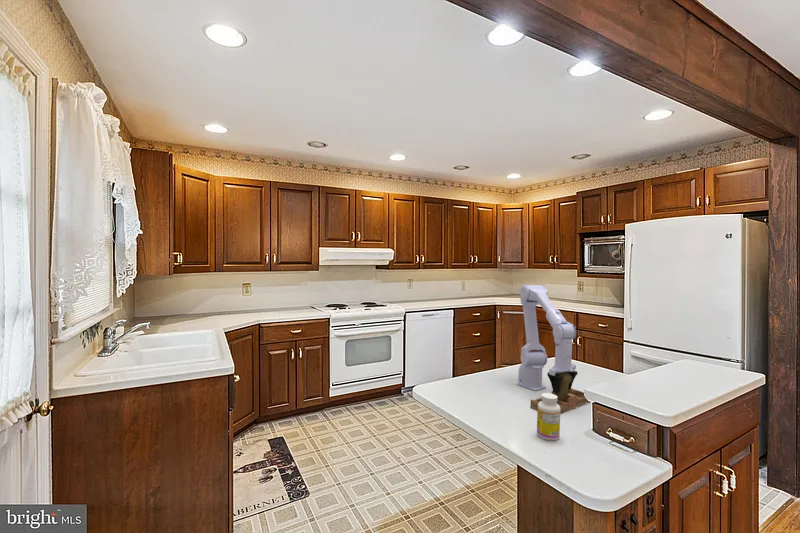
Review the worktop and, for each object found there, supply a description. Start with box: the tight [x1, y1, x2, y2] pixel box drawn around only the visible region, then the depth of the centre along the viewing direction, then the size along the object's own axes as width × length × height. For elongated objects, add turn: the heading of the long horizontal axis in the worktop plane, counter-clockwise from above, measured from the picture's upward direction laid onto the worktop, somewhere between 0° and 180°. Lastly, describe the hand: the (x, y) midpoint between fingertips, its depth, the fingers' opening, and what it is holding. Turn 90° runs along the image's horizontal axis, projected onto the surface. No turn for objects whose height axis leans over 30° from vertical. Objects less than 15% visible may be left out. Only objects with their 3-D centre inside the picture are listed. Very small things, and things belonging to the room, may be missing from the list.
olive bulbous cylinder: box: [550, 372, 572, 403], centre depth 139 cm, size 6×6×11 cm
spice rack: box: [530, 387, 591, 415], centre depth 139 cm, size 9×25×4 cm, turn 124°
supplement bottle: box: [536, 392, 561, 441], centre depth 115 cm, size 7×7×13 cm
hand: (561, 390), depth 139 cm, fingers open, 7 cm apart
